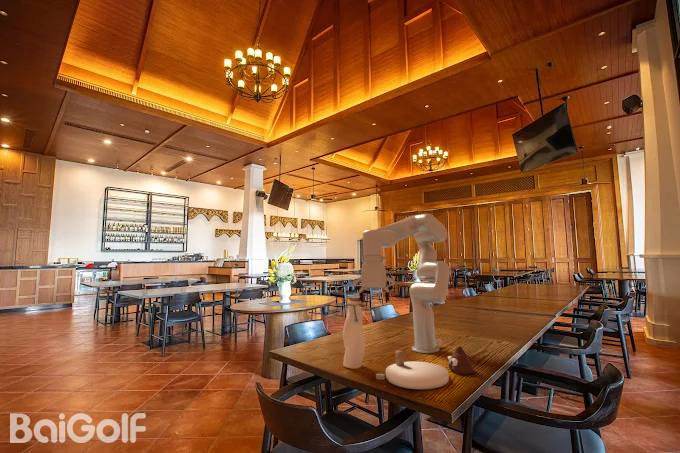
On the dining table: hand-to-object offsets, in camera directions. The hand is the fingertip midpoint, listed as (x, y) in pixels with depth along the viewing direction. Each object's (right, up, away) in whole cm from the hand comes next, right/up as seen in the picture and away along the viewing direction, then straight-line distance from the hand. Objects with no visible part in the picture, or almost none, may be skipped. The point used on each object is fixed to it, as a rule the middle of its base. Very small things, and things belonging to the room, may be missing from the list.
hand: (374, 302), depth 128 cm
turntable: (+14, -24, -14) cm, 31 cm away
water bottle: (-9, -27, +3) cm, 28 cm away
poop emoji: (+32, -25, -7) cm, 41 cm away
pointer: (+1, -25, -12) cm, 28 cm away
